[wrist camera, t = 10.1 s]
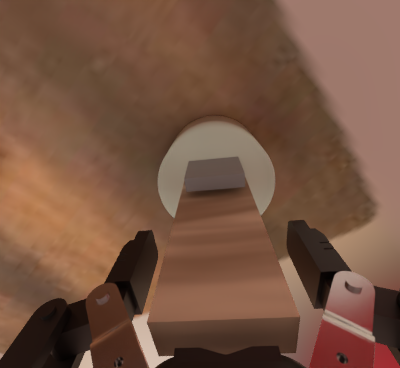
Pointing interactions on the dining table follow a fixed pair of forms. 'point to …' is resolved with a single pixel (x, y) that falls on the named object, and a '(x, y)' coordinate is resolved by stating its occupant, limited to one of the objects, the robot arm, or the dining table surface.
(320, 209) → the dining table surface
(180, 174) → the cream plug cylinder
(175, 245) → the brown wooden block
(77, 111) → the dining table surface
